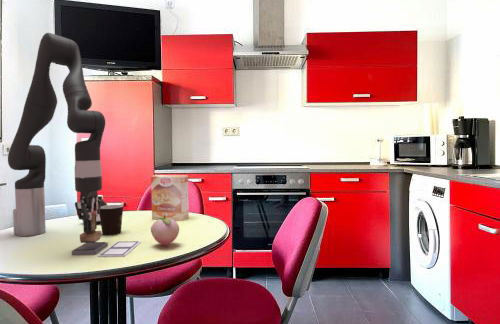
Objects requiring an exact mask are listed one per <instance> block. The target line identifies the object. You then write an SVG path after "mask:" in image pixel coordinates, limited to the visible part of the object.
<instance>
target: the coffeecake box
mask: <svg viewBox="0 0 500 324" xmlns="http://www.w3.org/2000/svg"><path fill="white" fill-rule="evenodd" d="M150 177H151V178H150V180H151V181H150V182H151V183H150V184H151V189H150V190H151V220H155V221H157V220H158V219H159V218H162V217H164V215H165V218H169V219H173V220H176V222H178V221H179V222H183V221H184V219H185V220H188V219H189V218H190V217H189V216H190V214H189V213H190V212H189V206H190V205H189V175H182V174H181V175H180V174H179V175H177V174H165V175H164V174H155V175H151V176H150ZM182 220H183V221H182Z"/></svg>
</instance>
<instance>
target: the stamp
mask: <svg viewBox="0 0 500 324" xmlns="http://www.w3.org/2000/svg"><path fill="white" fill-rule="evenodd" d="M95 213H96V210H93V212H92V217H91V220H92V231H91V232H90V233H85V232H84V231H83V233H81V234H79V242H80V244H84V243H95V242H99V241H100V240H101V238H102V230H96V229H95Z"/></svg>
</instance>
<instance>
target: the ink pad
mask: <svg viewBox="0 0 500 324" xmlns="http://www.w3.org/2000/svg"><path fill="white" fill-rule="evenodd" d="M108 244H109V243H108V242H107V241H96V242H95V243H82V244H81V245H79V246H78V247H76V248H75V249H73V250H71V256H92V255H93V256H94V255H97V254H100V252H101V251H103V250H104V249H107V247H109V245H108Z"/></svg>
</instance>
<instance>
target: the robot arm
mask: <svg viewBox="0 0 500 324" xmlns="http://www.w3.org/2000/svg"><path fill="white" fill-rule="evenodd" d="M38 45H39V46H38V50H37V55H36V61H35V67H34V71H33V75H32V79H31V84H30V86H29V89H28V92H27V95H26V99H25V102H24V106H23V109H22V110H23V111H22V115H21V118H20V122H19V124H18V128H17V131H16V133H15V136H14V138H13V140H12V143H11V145H10V146H9V151H8V153H7V155H8V156H7V163H8V166H9V168H10V169H11V170H14V171H28V173H27V174H26V175H24V177H21V178H20V179H17V180H16V181H15V182H14V197H15V199H14V200H15V208H14V209H13V210H12V215H13V216H12V218H13V219H12V220H13V236H17V237H29V236H30V237H32V236H37V235H42V234H45V232H47V231H46V227H47V226H46V204H45V203H46V202H45V200H46V199H45V181H46V170H47V169H46V168H47V167H46V166H47V165H46V164H47V159H46V153H45V149H44V148H43V146H41V145H38V144H37V145H35V144H31V142H32V141H33V139H34V138H35V137H36V135H37V134H39V133H40V132H41V131H42V130H43V129H44V128H45V127H46V126H47V125H48V124H50V122H51V121H52V120H53V118H54V116H55V112H56V109H57V105H58V98H57V93H56V91H55V88H54V86H53V84H52V81H51V77H50V76H51V75H50V70H51V69H50V68H51V65H52V64H55V65H56V64H57V65H60V66H64V67H67V68H68V74H67V75H66V77H65V78H64V80H63V83H62V92H63V96H64V98H65V102H66V105H67V106H66V107H67V115H66V116H67V118H66V119H67V120H66V125H67V128H68V129H69V130H70V131H71V132H72V133H74V134H89V137H88V139H86V140H81V141H78V142H75V144H74V187H75V188H74V190H75V192H78V193H80V195H79V201H76V202H74V207H75V210H76V211H75V212H76V214H77V217H78V218H77V219H78V220H81V221H82V220H83V221H82V222H83V223H82V225H83V226H82V227H83V233H84V232H85V233H90V232H91V231H92V220H91V217H92V212H93V210H96V213H95V230H97V229H98V225H97V223H96V217H97V216H98V215H97V214H100V208H101V202H102V196H98V195H99V193H98V192H99V191H102V189H103V178H102V177H103V175H102V173H103V171H102V163H101V145H102V144H101V143H102V139H103V136H104V131H105V128H106V117H105V116H104V114H103V113H102V112H100V111H99V110H89V109H91V107H92V105H93V102H92V99H91V96H90V92H89V90H88V88H87V85H86V81H85V77H84V71H83V63H82V57H81V52H80V48H79V45H78V44H77V42H76V41H74V40H73V39H69V38H67V37H64V36H61V35H58V34H55V33H51V32H45V33H44V34H43V35H42V38H41V39H40V41H39V44H38ZM81 213H82V214H81Z"/></svg>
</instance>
